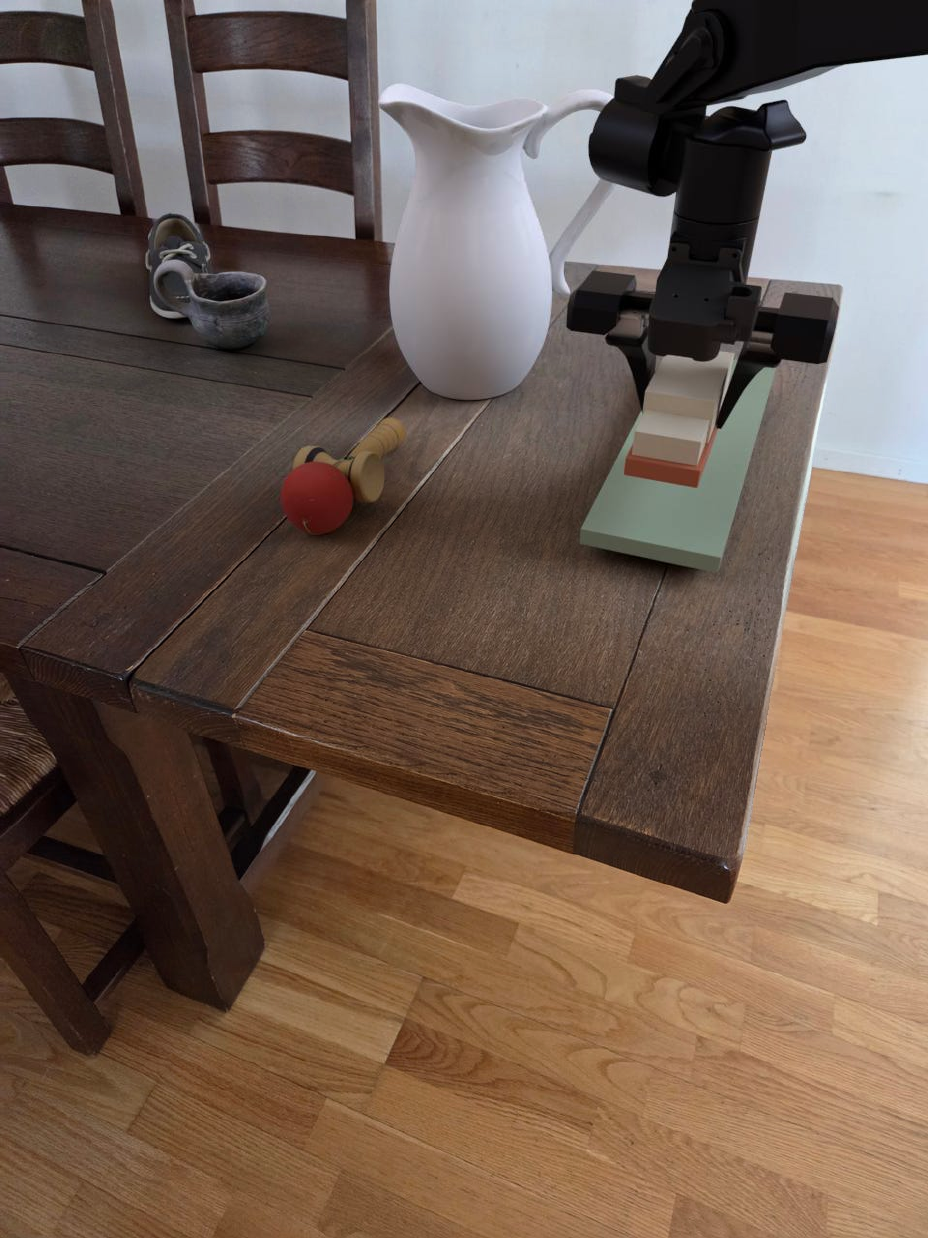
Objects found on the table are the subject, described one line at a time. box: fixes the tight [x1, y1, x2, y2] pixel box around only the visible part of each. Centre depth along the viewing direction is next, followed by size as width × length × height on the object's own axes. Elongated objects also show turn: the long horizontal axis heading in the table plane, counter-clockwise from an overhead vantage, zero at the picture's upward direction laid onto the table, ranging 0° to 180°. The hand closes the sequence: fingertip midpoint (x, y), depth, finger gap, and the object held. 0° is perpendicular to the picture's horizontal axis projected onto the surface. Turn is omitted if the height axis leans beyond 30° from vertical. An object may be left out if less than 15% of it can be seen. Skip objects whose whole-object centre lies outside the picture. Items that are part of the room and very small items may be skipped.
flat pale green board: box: [578, 358, 777, 574], centre depth 80 cm, size 36×11×3 cm, turn 158°
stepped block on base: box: [624, 350, 735, 488], centre depth 67 cm, size 14×6×5 cm, turn 158°
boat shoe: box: [145, 212, 212, 319], centre depth 115 cm, size 25×9×8 cm, turn 13°
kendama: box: [280, 416, 407, 536], centre depth 77 cm, size 8×6×18 cm
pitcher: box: [377, 83, 617, 401], centre depth 87 cm, size 24×17×28 cm
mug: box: [154, 260, 271, 350], centre depth 100 cm, size 10×12×10 cm
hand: (682, 420), depth 68 cm, fingers closed on stepped block on base, 5 cm apart
